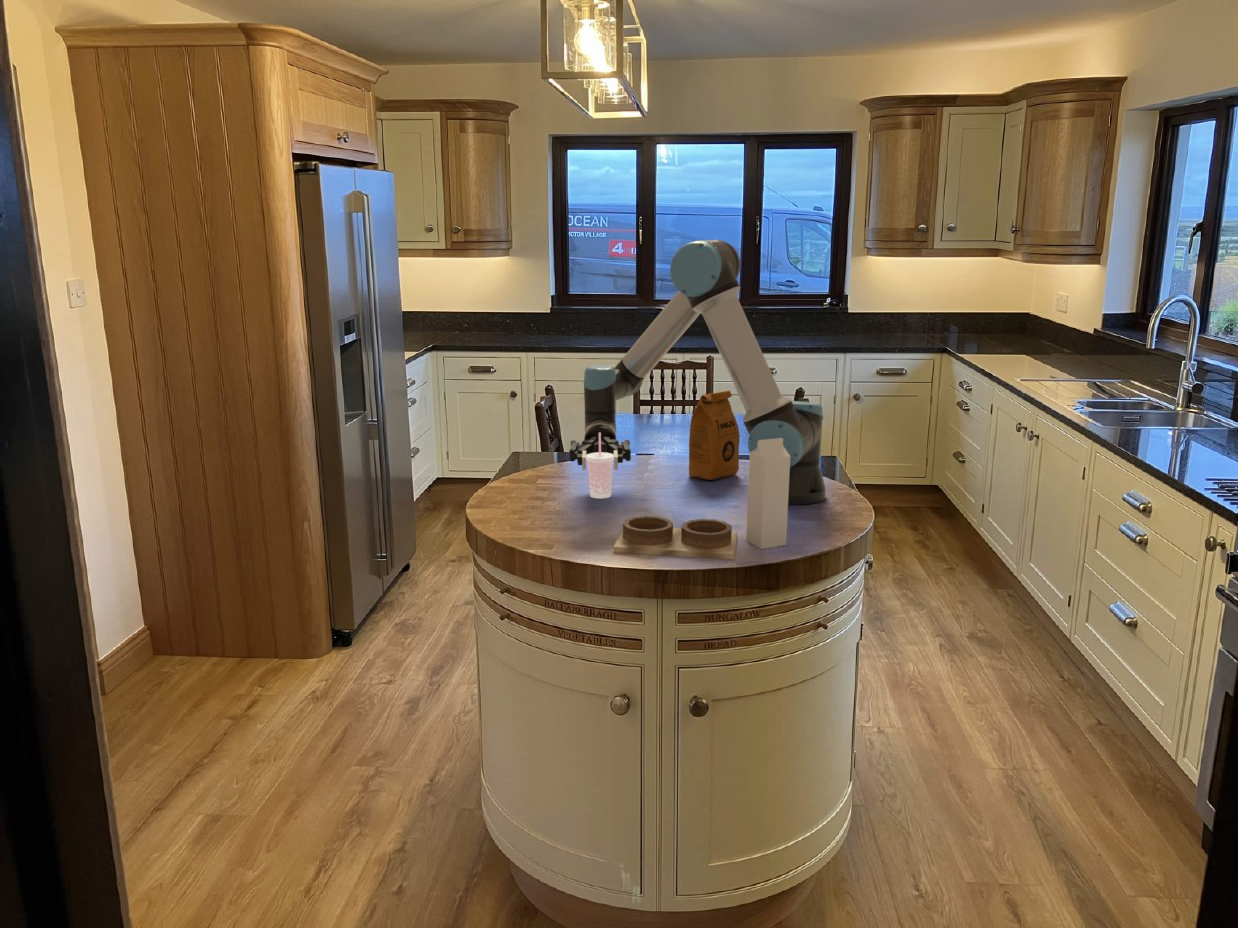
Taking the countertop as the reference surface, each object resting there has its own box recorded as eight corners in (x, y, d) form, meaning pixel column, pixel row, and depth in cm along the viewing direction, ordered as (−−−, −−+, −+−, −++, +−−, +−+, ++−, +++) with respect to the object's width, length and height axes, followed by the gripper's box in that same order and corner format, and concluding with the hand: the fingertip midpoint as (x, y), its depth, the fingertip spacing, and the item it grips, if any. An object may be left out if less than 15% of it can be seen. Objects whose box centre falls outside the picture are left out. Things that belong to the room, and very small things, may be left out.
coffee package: (744, 476, 253) (747, 392, 247) (710, 484, 245) (713, 397, 240) (716, 468, 260) (719, 386, 255) (683, 476, 252) (684, 392, 247)
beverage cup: (604, 500, 209) (603, 436, 206) (581, 496, 212) (579, 433, 209) (619, 494, 214) (619, 431, 211) (596, 490, 217) (595, 428, 214)
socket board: (737, 536, 206) (737, 517, 204) (734, 559, 192) (734, 539, 191) (624, 530, 209) (624, 511, 208) (613, 552, 196) (613, 532, 195)
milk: (786, 546, 200) (792, 441, 195) (760, 549, 198) (766, 443, 192) (770, 537, 206) (775, 434, 200) (745, 540, 203) (750, 437, 198)
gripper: (641, 454, 230) (645, 480, 207) (559, 455, 230) (555, 481, 207) (640, 423, 228) (645, 445, 206) (559, 424, 228) (554, 446, 205)
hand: (600, 463), depth 206 cm, fingers closed on beverage cup, 6 cm apart
